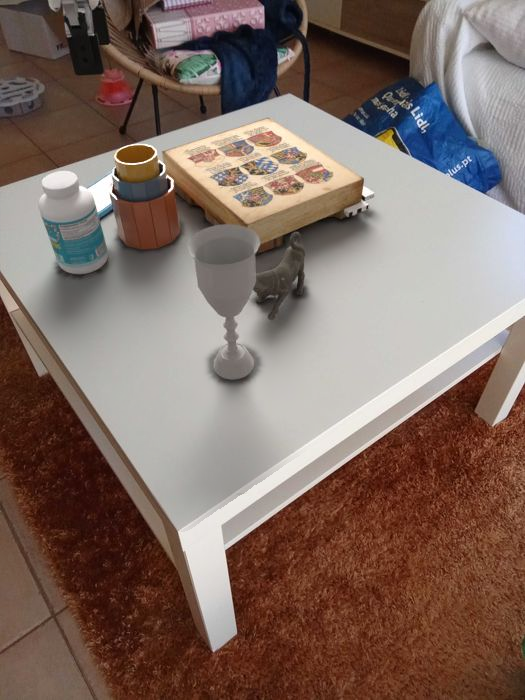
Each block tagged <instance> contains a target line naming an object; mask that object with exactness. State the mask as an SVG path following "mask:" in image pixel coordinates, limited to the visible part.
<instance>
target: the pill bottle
mask: <svg viewBox="0 0 525 700" xmlns="http://www.w3.org/2000/svg"><path fill="white" fill-rule="evenodd" d="M41 187H42V190H43V194H42V195H41V197H40V198H39V200H38V211H39V213H40V216H41V219H42V222H43V224H44V227H45V230H46V233H47V236H48V239H49V241H50V245H51V247H52V251H53V253H54V256H55V258H56V261H57V264H58V266H59V268H61V269H62V271H64V272H66V273H67V274H73V275H86V274H89V273H93V272H95V271H97V270H99V269H101V268H102V267H103V266H104V265H105V264H106V263H107V261H108V258H109V250H108V246H107V243H106V239H105V235H104V231H103V227H102V224H101V220H100V219H99V216H98V212H97V208H96V204H95V201H94V197H93V195H92V194H91V192H90V191H89V190H88V189H86V188H87V187H84V186H83V185H80V181H79V178H78V176H77V174H76V173H74V172H72V171H68V170H59V171H55V172H52V173H51V172H50V173H49V174H47V175H46V176H44V177H43V179H42V180H41Z"/></svg>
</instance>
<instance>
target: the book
mask: <svg viewBox="0 0 525 700" xmlns="http://www.w3.org/2000/svg"><path fill="white" fill-rule="evenodd" d="M161 155H162V161H163V162H162V163H164V164H165V166H166V172H167V175H168V176H170V177H171V178H172V179H173V180H174V187H175V193H176V194H177V195H178V196H179V197H181V198H182V199H183V200H184V201H186V202H187V203H188V204H189V205H191V206H198V207H201V208H202V209H203V211H204V214H205V215H204V216H205V219H206V221H208V223H210V225H212V226H215V225H224V224H231V225H240V226H243V227H247V228H249V229H250V230H252V231H254V232H255V233H256V234H257V235H258V237H259V240H260V245H259V248H258V250H257V252H256V254H255V255H258V254H260V253H264V252H266V251H269V250H273V249H274V248H277V247H281V246H282V245H283V236H285V235H287V234H289V233H291V232H295V231H296V230H298V229H300V228H304V227H305V226H308V225H311V224H313V223H315V222H318V221H319V220H322V219H326V218H327V217H331V218H332V217H334V218H337V219H339V220H342V219H345V218H346V217H347V218H350V217H353V216H356V215H358V214H360V213H362V212H364V211H367V210H369V207H370V205H369V203H367V202H366V201H370V200H371V199H373V198H375V191H372V190H371V189H369V188H367V187H366V186H364V183H365V177H362V176H361V175H360V174H358V173H356V172H354V171H353V170H352V169H350V168H349V167H347V166H345V165H344V164H342V163H340V162H339V161H338V160H336V159H335V158H333V157H331V156H329V155H328V154H326V153H325V152H324V151H322V150H321V149H319V148H317V147H316V146H314V145H313V144H311V143H309V142H308V141H307V140H305V139H303V138H301V136H298V135H297V134H295V133H294V132H292V131H291V130H289V129H287V128H286V127H284V126H283V125H281V124H280V123H278V122H277V121H275V120H273V119H272V118H270V117H266V118H262V119H259V120H256V121H253V122H249V123H247V124H244V125H241V126H237V127H233V128H231V129H228V130H225V131H221V132H219V133H215V134H212V135H210V136H206V137H203V138H200V139H197V140H194V141H190V142H188V143H185V144H182V145H178V146H175V147H172V148H169V149H165V150H162V151H161Z"/></svg>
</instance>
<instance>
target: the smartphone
mask: <svg viewBox="0 0 525 700" xmlns="http://www.w3.org/2000/svg"><path fill="white" fill-rule="evenodd" d="M111 175H112V170H111V171H109V172H108V173H106V174H105V175H103V176H102V177H101V178H99V179H97V180H96V181H94V182H93V183H91V184H90V185H88V186H87V187H85V188H86V189H88V190H89V191H90V192H91V194H92V195H93V197H94V201H95V204H96V208H97V212H98V216H99V220H100V219H101V218H103V217H104V216H105V215H107V214H108V213H110V212H111V211H112V210H113V207H112V203H111V198H110V194H109V191H110V184H111V183H112V182H113V180H112V176H111Z"/></svg>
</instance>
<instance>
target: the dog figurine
mask: <svg viewBox="0 0 525 700" xmlns="http://www.w3.org/2000/svg"><path fill="white" fill-rule="evenodd" d="M289 245H290V246H288V247H287V248H286V249H285V251H284V253H283V258H282V259H281V261H280V262H279V264H278V266H276V267H274V268H273V269H269V270H266V271H262V272H258V273H257V272H256V283H255V285H254V288H253V290H252V291H253V292H254V293H255V294H256V296H257V297H256V298H255V301H256V302H257V303H262V302H263V301H264V300H266V298H267V297H269V296H273V297H276V296H277V298H276V300H275V303H274V304H273V306H272V307H271V310H270V312H269V313H268V314H267V316H266V317H267V319H268V320H269V321H271V322H273V321H275V320H276V316H277V314H278V313H279V309H280V307H281V305H282V303H284V300H285V299H286V298H287V297H288V295H289V294H290V292H291V290H292V288H293V283H294V282H295V281H296V279H297V282H296V287H295V294H296V295H298V296H299V295H300V296H301V295H302V294H303V293H304V289H303V288H304V285H305V276H306V275H305V256H306V251H305V248H304V245H303V237H302V235H301V233H300V232H299V231H293V233H291V234H290V236H289Z"/></svg>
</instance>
